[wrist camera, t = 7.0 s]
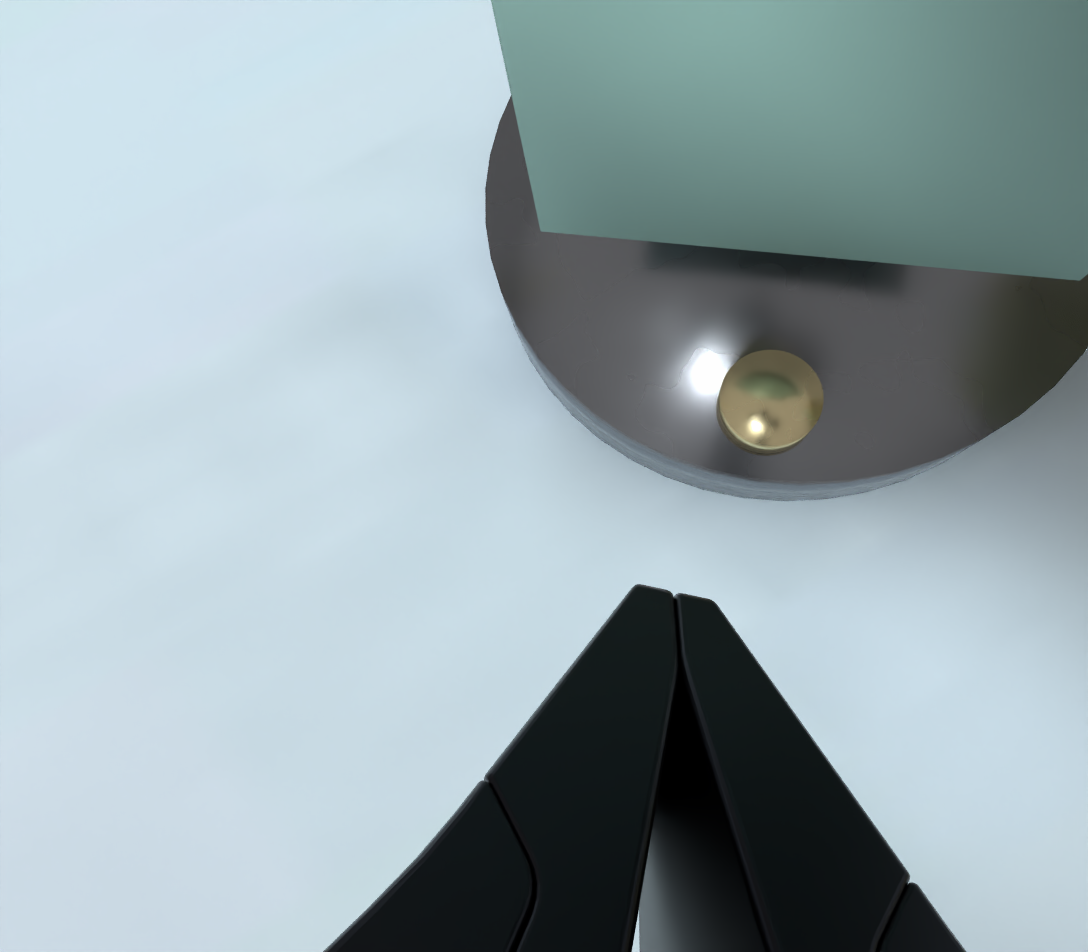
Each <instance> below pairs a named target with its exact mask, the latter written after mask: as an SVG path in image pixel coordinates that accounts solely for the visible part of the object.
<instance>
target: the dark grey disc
mask: <svg viewBox="0 0 1088 952" xmlns="http://www.w3.org/2000/svg"><path fill="white" fill-rule="evenodd" d="M485 192H486V229H487V235H488V242H489V249H490V255H491V260H492V263H493V266H494V270H495V273H496V276H497V280H498V283H499V286H500V289H501V293H502V295H503V298H504V300H505V303H506V306H507V308H508V311H509V314H510V316H511V319H512V321H513V324H514V327H515V329H516V331H517V334H518V336H519V338H520V340H521V342H522V344H523V346H524V348H525V351H526V353H527V355H528V357H529V359H530V361H531V362H532V364H533V365H534V367H535V368H536V370H537V371H538V373H539V374H540V376H541V377H542V379H543V380H544V382H545V383H546V385H547V387H548V388H549V389H550V390H551V391H552V393H553V394H554V395H555V396H556V397H557V398H558V399H559V401H560V402H561V403H562V404H563V405H564V406H565V407H566V409H567V410H568V411H569V412H570V413H571V414H572V415H573V416H574V417H575V418H576V419H577V420H578V421H580V422H581V423H582V424H583V425H584V426H585V427H586V428H588V429H589V430H590V431H591V432H592V433H593V434H595V435H596V436H597V437H598V438H599V439H601V440H602V441H604V442H605V443H607V444H608V445H610V446H611V447H613V448H614V449H616V450H617V451H619V452H620V453H622V454H623V455H625V456H626V457H628V458H629V459H631V460H633V461H635V462H637V463H639V464H641V465H643V466H645V467H647V468H649V469H651V470H653V471H655V472H657V473H659V474H661V475H663V476H665V477H668V478H671V479H674V480H677V481H680V482H683V483H686V484H689V485H692V486H695V487H697V488H700V489H703V490H708V491H713V492H718V493H723V494H728V495H732V496H737V497H742V498H753V499H766V500H778V501H794V500H816V499H829V498H834V497H840V496H846V495H852V494H858V493H863V492H868V491H871V490H874V489H878V488H881V487H884V486H887V485H891V484H894V483H897V482H900V481H904V480H906V479H909V478H911V477H913V476H915V475H917V474H920V473H922V472H924V471H926V470H928V469H930V468H933V467H935V466H937V465H939V464H941V463H943V462H945V461H947V460H948V459H950V458H952V457H953V456H955V455H957V454H958V453H960V452H962V451H963V450H965V449H966V448H968V447H970V446H971V445H973V444H975V443H976V442H978V441H980V440H981V439H983V438H985V437H986V436H988V435H989V434H991V433H993V432H994V431H996V430H997V429H999V428H1000V427H1002V426H1004V425H1005V424H1007V423H1008V422H1010V421H1012V420H1013V419H1015V418H1016V417H1018V416H1019V415H1021V414H1022V413H1023V412H1024V411H1026V410H1027V409H1028V408H1029V407H1030V406H1032V405H1033V404H1034V403H1035V402H1036V401H1037V400H1039V399H1040V398H1041V397H1042V396H1043V395H1045V394H1046V393H1047V392H1048V391H1049V390H1050V389H1052V388H1053V387H1054V386H1055V385H1056V384H1057V383H1058V382H1059V380H1060V379H1061V378H1062V377H1063V376H1064V375H1065V374H1066V372H1067V371H1068V370H1069V369H1070V368H1071V367H1072V366H1073V364H1074V363H1075V362H1076V361H1077V360H1078V359H1079V358H1080V357H1081V355H1082V354H1083V353H1084V351H1085V350H1086V348H1087V347H1088V274H1087V275H1086V276H1085V277H1084V278H1082V279H1081V280H1080V281H1078V280H1067V279H1056V278H1045V277H1034V276H1024V275H1013V274H1002V273H991V272H980V271H969V270H958V269H947V268H936V267H925V266H914V265H903V264H892V263H881V262H870V261H859V260H848V259H838V258H827V257H816V256H805V255H794V254H783V253H772V252H761V251H750V250H739V249H728V248H717V247H706V246H695V245H684V244H673V243H662V242H652V241H641V240H630V239H619V238H608V237H597V236H586V235H575V234H564V233H553V232H542V231H540V226H539V221H538V217H537V212H536V207H535V203H534V198H533V193H532V189H531V184H530V179H529V175H528V170H527V165H526V161H525V156H524V151H523V147H522V142H521V137H520V133H519V128H518V123H517V119H516V114H515V109H514V105H513V100H512V96H511V97H510V99H509V102H508V104H507V106H506V108H505V111H504V113H503V115H502V118H501V120H500V122H499V126H498V129H497V133H496V136H495V140H494V143H493V147H492V150H491V154H490V160H489V167H488V174H487V181H486V189H485Z"/></svg>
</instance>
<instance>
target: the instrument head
mask: <svg viewBox="0 0 1088 952" xmlns="http://www.w3.org/2000/svg"><path fill="white" fill-rule="evenodd" d="M491 2H492V7H493V12H494V16H495V21H496V26H497V30H498V35H499V40H500V44H501V49H502V54H503V58H504V63H505V68H506V72H507V77H508V82H509V86H510V91H511V96H512V100H513V105H514V109H515V114H516V119H517V123H518V128H519V133H520V137H521V142H522V147H523V151H524V156H525V161H526V165H527V170H528V175H529V179H530V184H531V189H532V193H533V198H534V203H535V207H536V212H537V217H538V221H539V226H540V231H542V232H553V233H564V234H575V235H586V236H597V237H608V238H619V239H630V240H641V241H652V242H662V243H673V244H684V245H695V246H706V247H717V248H728V249H739V250H750V251H761V252H772V253H783V254H794V255H805V256H816V257H827V258H838V259H848V260H859V261H870V262H881V263H892V264H903V265H914V266H925V267H936V268H947V269H958V270H969V271H980V272H991V273H1002V274H1013V275H1024V276H1034V277H1045V278H1056V279H1067V280H1078V281H1080V280H1081V279H1082V278H1084V277H1085V276H1086V275H1087V274H1088V0H491Z"/></svg>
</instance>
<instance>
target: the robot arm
mask: <svg viewBox="0 0 1088 952" xmlns="http://www.w3.org/2000/svg"><path fill="white" fill-rule="evenodd" d="M909 880H910V875H909V873H908V871H907V870H906V868H905V867H904V866H903V864H902V863H901V861H900V860H899V859H898V857H897V856H896V854H895V853H894V852H893V850H892V849H891V847H890V846H889V845H888V843H887V842H886V840H885V839H884V838H883V836H882V835H881V833H880V832H879V831H878V829H877V828H876V826H875V825H874V824H873V822H872V821H871V819H870V818H869V817H868V815H867V814H866V812H865V811H864V810H863V808H862V807H861V805H860V804H859V803H858V801H857V800H856V798H855V797H854V796H853V794H852V793H851V791H850V790H849V789H848V787H847V786H846V784H845V783H844V782H843V780H842V779H841V777H840V776H839V775H838V773H837V772H836V770H835V769H834V768H833V766H832V765H831V763H830V762H829V761H828V759H827V758H826V756H825V755H824V754H823V752H822V751H821V749H820V748H819V747H818V745H817V744H816V742H815V741H814V740H813V738H812V737H811V735H810V734H809V733H808V731H807V730H806V728H805V727H804V726H803V724H802V723H801V721H800V720H799V719H798V717H797V716H796V714H795V713H794V712H793V710H792V709H791V707H790V706H789V705H788V703H787V702H786V700H785V699H784V698H783V696H782V695H781V694H780V692H779V691H778V689H777V688H776V687H775V685H774V684H773V682H772V681H771V680H770V678H769V677H768V675H767V674H766V673H765V671H764V670H763V668H762V667H761V666H760V664H759V663H758V661H757V660H756V659H755V657H754V656H753V654H752V653H751V652H750V650H749V649H748V647H747V646H746V645H745V643H744V642H743V640H742V639H741V638H740V636H739V635H738V633H737V632H736V631H735V629H734V628H733V626H732V625H731V624H730V622H729V621H728V619H727V618H726V617H725V615H724V614H723V612H722V611H721V610H720V608H719V607H718V605H717V604H716V603H715V602H714V601H712V600H710V599H706V598H702V597H697V596H692V595H688V594H683V593H678V594H676V595H675V596H674V597H673V594H672V593H671V592H670V591H668V590H664V589H660V588H655V587H651V586H646V585H641V584H637V585H635V586H634V587H633V588H632V589H631V590H630V591H629V592H628V594H627V595H626V596H625V598H624V599H623V600H622V601H621V603H620V604H619V605H618V606H617V608H616V609H615V610H614V612H613V613H612V614H611V615H610V617H609V618H608V619H607V621H606V622H605V623H604V624H603V626H602V627H601V628H600V629H599V631H598V632H597V633H596V635H595V636H594V637H593V638H592V640H591V641H590V642H589V643H588V645H587V646H586V647H585V649H584V650H583V651H582V652H581V654H580V655H579V656H578V657H577V659H576V660H575V661H574V663H573V664H572V665H571V666H570V668H569V669H568V670H567V671H566V673H565V674H564V675H563V677H562V678H561V679H560V680H559V682H558V683H557V684H556V686H555V687H554V688H553V689H552V691H551V692H550V693H549V694H548V696H547V697H546V698H545V700H544V701H543V702H542V703H541V705H540V706H539V707H538V708H537V710H536V711H535V712H534V714H533V715H532V716H531V717H530V719H529V720H528V721H527V722H526V724H525V725H524V726H523V728H522V729H521V730H520V731H519V733H518V734H517V735H516V736H515V738H514V739H513V740H512V742H511V743H510V744H509V745H508V747H507V748H506V749H505V751H504V752H503V753H502V754H501V756H500V757H499V758H498V759H497V761H496V762H495V763H494V765H493V766H492V767H491V768H490V770H489V771H488V772H487V773H486V775H485V777H484V781H480V782H479V783H478V784H477V785H476V787H475V788H474V789H473V791H472V792H471V793H470V794H469V796H468V797H467V798H466V799H465V801H464V802H463V803H462V804H461V806H460V807H459V808H458V810H457V811H456V812H455V813H454V814H453V816H452V817H451V818H450V819H449V820H448V822H447V823H446V824H445V825H444V826H443V827H442V829H441V830H440V831H439V832H438V833H437V834H436V836H435V837H434V838H433V839H432V840H431V842H430V843H429V844H428V845H427V846H426V847H425V849H424V850H423V851H422V852H421V853H420V855H419V856H418V857H417V858H416V859H415V860H414V861H413V862H412V863H411V864H410V865H409V866H408V867H407V868H406V869H405V870H404V871H403V872H402V874H401V875H400V876H399V877H398V878H397V879H396V880H395V881H394V882H393V883H392V884H391V885H390V886H389V887H388V888H387V889H386V890H385V891H384V892H383V893H382V894H381V895H380V896H379V897H378V898H377V899H376V900H375V901H374V902H373V903H372V905H371V906H370V907H369V908H368V909H367V910H366V911H365V912H364V913H363V914H361V915H360V916H359V917H358V918H357V919H356V920H355V921H354V922H353V923H352V924H351V925H350V926H349V927H348V928H347V929H346V930H345V931H344V932H343V933H342V934H341V935H340V936H339V937H338V938H337V939H336V940H335V941H334V942H333V943H332V944H331V945H330V946H329V947H327V948H326V949H325V950H324V951H323V952H632V946H633V940H634V934H635V928H636V922H637V916H638V910H639V940H640V952H966V951H965V949H964V948H963V947H962V945H961V944H960V943H959V941H958V940H957V939H956V937H955V936H954V935H953V933H952V932H951V931H950V929H949V928H948V926H947V925H946V924H945V922H944V921H943V920H942V918H941V917H940V915H939V914H938V913H937V911H936V910H935V908H934V907H933V906H932V904H931V903H930V901H929V900H928V899H927V897H926V896H925V894H924V893H923V892H922V890H921V889H920V887H919V886H918V885H917V884H916V883H909V884H908V882H909ZM907 884H908V885H907Z"/></svg>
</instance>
